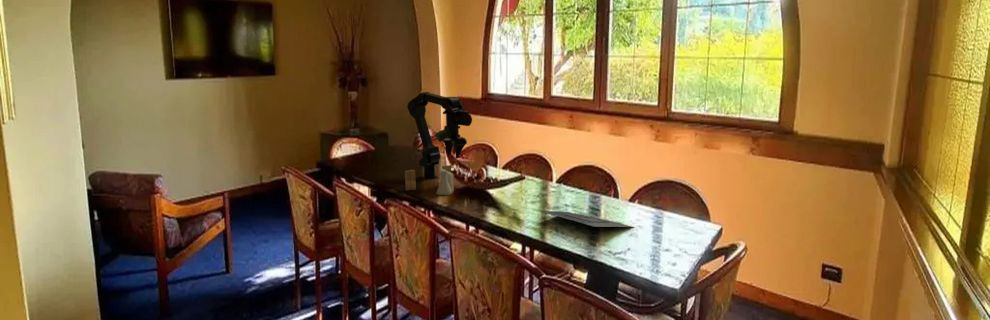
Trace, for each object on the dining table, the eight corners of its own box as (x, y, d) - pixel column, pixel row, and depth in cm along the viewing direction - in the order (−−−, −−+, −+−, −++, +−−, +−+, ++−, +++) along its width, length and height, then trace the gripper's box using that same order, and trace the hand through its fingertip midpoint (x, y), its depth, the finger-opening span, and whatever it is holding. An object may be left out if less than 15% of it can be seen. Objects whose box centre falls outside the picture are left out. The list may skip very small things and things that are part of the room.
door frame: (405, 189, 286) (404, 170, 284) (450, 183, 296) (450, 164, 294) (406, 190, 284) (406, 171, 282) (452, 184, 294) (452, 165, 292)
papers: (574, 218, 254) (575, 209, 254) (634, 234, 232) (635, 224, 232) (532, 217, 238) (534, 208, 238) (593, 234, 216) (595, 224, 216)
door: (438, 185, 291) (437, 169, 289) (443, 184, 292) (442, 168, 291) (448, 191, 281) (447, 174, 279) (453, 190, 282) (453, 174, 280)
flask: (433, 195, 277) (432, 173, 274) (440, 190, 283) (440, 169, 281) (448, 196, 274) (447, 174, 272) (455, 192, 281) (454, 170, 278)
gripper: (428, 122, 295) (429, 154, 298) (444, 128, 279) (445, 162, 282) (450, 120, 300) (451, 152, 303) (466, 126, 284) (467, 159, 287)
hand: (453, 156), depth 294 cm, fingers open, 9 cm apart
